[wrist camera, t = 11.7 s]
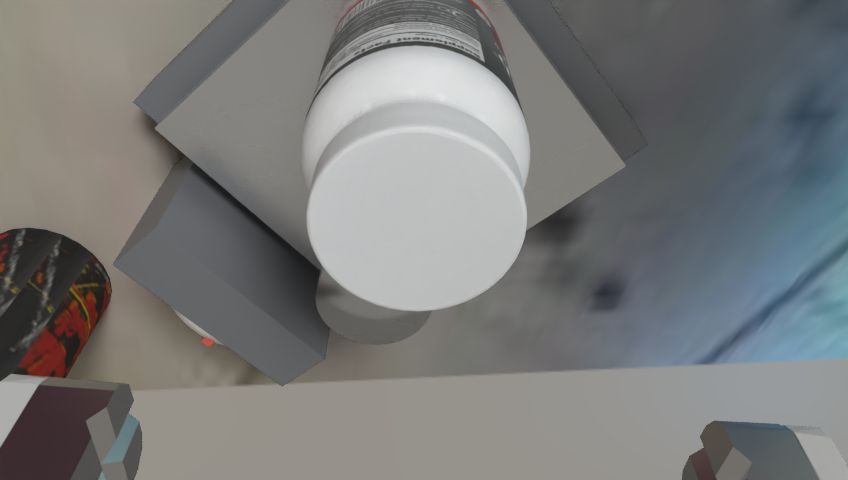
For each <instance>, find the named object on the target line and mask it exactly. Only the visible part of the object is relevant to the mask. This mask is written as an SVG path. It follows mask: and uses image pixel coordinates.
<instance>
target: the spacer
mask: <svg viewBox="0 0 848 480" xmlns="http://www.w3.org/2000/svg"><path fill="white" fill-rule="evenodd" d="M316 306H317V310H318V312H319V314H320V316H321V318H322V319H323V321H324V322H325V323H326V325H327V326H328V327H330V328H331V329H332V330H333V331H334V332H336V333H337V334H339V335H341V336H342V337H344V338H347V339H349V340H352V341H355V342H359V343H363V344H376V345H379V344H388V343H394V342H397V341H400V340H403V339H405V338H407V337H409V336H411V335H413V334H414V333H415V332H417V331H418V330H419V329H420V328H421V327H422V326H423V325H424V324H425V322H426V321H427V319H428V318H429V315H430V313H431V310H430V311H403V310H396V309H390V308H386V307H383V306H379V305H376V304H373V303H370V302H368V301H366V300H364V299H362V298H360V297H358V296H356V295H354V294H352V293H351V292H349V291H348V290H346V289H345V288H343V287H342V286H341V285H340V284H339V283H338V282H337V281H335V280H334V279H333V278H332V277H331V276H330V275H329V274H328V273H327V271H326V270H325V269H324V268H323V266H322V265H321V270H320V275H319V280H318V285H317V290H316Z"/></svg>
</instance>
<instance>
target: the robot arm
mask: <svg viewBox="0 0 848 480" xmlns="http://www.w3.org/2000/svg"><path fill="white" fill-rule="evenodd" d="M133 401H134V399H133V396H132V393H131V389H130V386H129V384H123V383H113V382H102V381H91V380H80V379H69V378H58V377H45V376H32V375H19V374H10V375H9V376H7V377H6V378H5V379H3V380H2V381H0V480H134V478H135V475H136V473H137V470H138V466H139V461H140V456H141V451H142V432H141V427H140V423H139V421H138V420H137V419H136V418H134V417H133V416H132V415H130V414H129V413H128V412H129V410H130V408H131V406H132V403H133ZM700 438H701V440H702V443H703V446H704V448H702V449H701V450H699V451H697V452H695V453H694V454H692V455H691V456H689V458H688V461H687V463H686V465H685V467H684V469H683V474H682V480H848V467H847V465H846V464H845V462H844V460H843V458H842V457H841V455H840V453H839V452H838V450H837V448H836V446H835V445H834V443H833V441H832V440H831V438H830V437H829V435H828V434H827V433H826V432H825V431H823V430H822V429H821V428H820V427H805V426H790V425H779V424H767V423H748V422H728V421H713V422H711V423H710V424H708V425H706V427H705V429H704V430H703V432H702V434H701V436H700Z"/></svg>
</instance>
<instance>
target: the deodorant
mask: <svg viewBox="0 0 848 480" xmlns="http://www.w3.org/2000/svg"><path fill="white" fill-rule="evenodd" d="M111 292H112V290H111V283H110V278H109V276H108V274H107V272H106V270H105V268H104V266H103V265H102V264H101V263H100V262H99V261H98V259H97V258H96V257H95V256H94V255H93V254H92V253H91V252H90V251H88V250H87V249H86V248H84V247H83V246H82V245H81V244H79V243H77V242H75V241H73V240H71V239H69V238H68V237H66V236H64V235H61V234H57V233H54V232H51V231H48V230H43V229H34V228H22V229H12V230H9V231H6V232H4V233H1V234H0V381H2V380H3V379H5V378H6V377H7V376H9V375H10V374H19V375H32V376H45V377H58V378H66V376H67V374H68V373H69V371H70V369H71V367H72V366H73V364H74V362H75V361H76V359H77V357H78V355H79V354H80V352H81V350H82V348H83V347H84V345H85V343H86V342H87V340H88V338H89V336H90V335H91V333H92V331H93V330H94V328H95V326H96V324H97V323H98V321H99V319H100V317H101V316H102V314H103V312H104V311H105V309H106V307H107V305H108V304H109V302H110V297H111Z"/></svg>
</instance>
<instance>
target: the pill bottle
mask: <svg viewBox="0 0 848 480" xmlns="http://www.w3.org/2000/svg"><path fill="white" fill-rule="evenodd" d="M529 165H530V141H529V134H528V128H527V124H526V120H525V116H524V113H523V110H522V108H521V104H520V101H519V98H518V95H517V92H516V89H515V86H514V82H513V80H512V76H511V74H510V70H509V67H508V64H507V61H506V57H505V54H504V51H503V48H502V45H501V42H500V39H499V37H498V34H497V32H496V30H495V28H494V26H493V24H492V22H491V21H490V19H489V18H488V16H487V15H486V13H485V12H484V11H483V10H482V8H481V7H480V6H479V5H478V4H477V3H476V2H475V1H474V0H356V1H355V2H354V3H353V4H352V5H351V6H350V8H349V9H348V10H347V11H346V12H345V14H344V15H343V17H342V18H341V20H340V21H339V23H338V25H337V26H336V29H335V31H334V33H333V35H332V38H331V41H330V44H329V47H328V50H327V54H326V57H325V60H324V63H323V67H322V70H321V73H320V76H319V79H318V83H317V86H316V89H315V92H314V95H313V98H312V101H311V104H310V107H309V110H308V113H307V116H306V120H305V123H304V129H303V134H302V140H301V167H302V173H303V177H304V181H305V185H306V188H307V191H308V193H309V196H308V201H307V210H306V225H307V232H308V236H309V240H310V243H311V246H312V248H313V251H314V253H315V255H316V257H317V259H318V260H319V262H320V263H321V265H322V266H323V268H324V269H325V270H326V271H327V273H328V274H329V275H330V276H331V277H332V278H333V279H334V280H335V281H337V282H338V283H339V284H340V285H341V286H342V287H343V288H345V289H346V290H348V291H349V292H351V293H352V294H354V295H356V296H358V297H360V298H362V299H364V300H366V301H368V302H370V303H373V304H376V305H379V306H383V307H386V308H390V309H396V310H403V311H430V310H437V309H443V308H447V307H451V306H454V305H457V304H460V303H463V302H466V301H468V300H470V299H472V298H474V297H476V296H478V295H479V294H481V293H483V292H485V291H486V290H487V289H489V288H490V287H491V286H493V285H494V284H495V283H496V282H497V281H498V280H499V279H500V278H502V277H503V276H504V275H505V273H506V272H507V271H508V269H509V268H510V267H511V265H512V264H513V263H514V261H515V260H516V258H517V256H518V254H519V252H520V249H521V247H522V244H523V241H524V238H525V233H526V227H527V207H526V202H525V196H524V187H525V184H526V180H527V177H528V172H529Z"/></svg>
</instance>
